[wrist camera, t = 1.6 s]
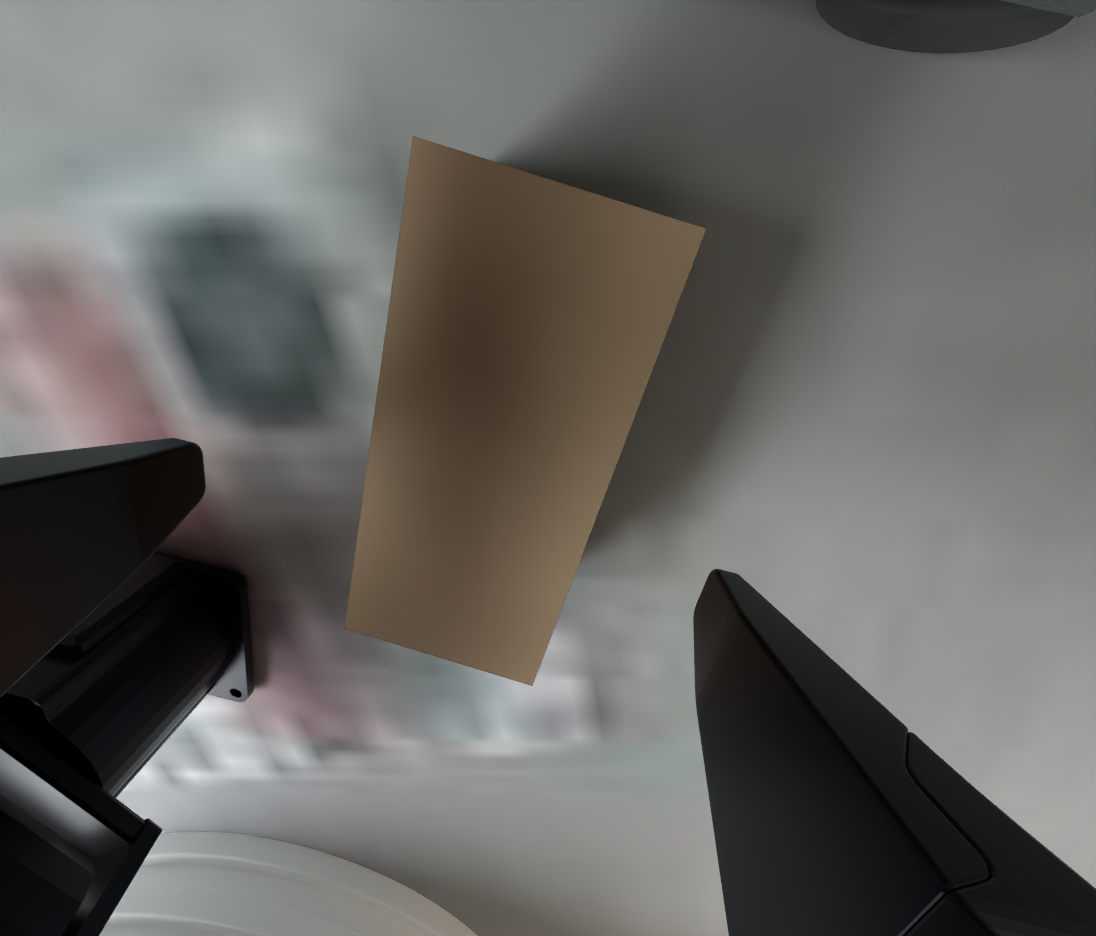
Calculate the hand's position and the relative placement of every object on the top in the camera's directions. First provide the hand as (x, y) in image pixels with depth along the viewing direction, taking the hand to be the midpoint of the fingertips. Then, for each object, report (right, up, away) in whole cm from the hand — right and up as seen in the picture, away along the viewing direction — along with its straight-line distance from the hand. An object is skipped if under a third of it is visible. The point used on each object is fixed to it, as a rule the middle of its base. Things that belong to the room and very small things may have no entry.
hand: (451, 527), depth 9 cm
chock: (+1, +3, +6) cm, 7 cm away
